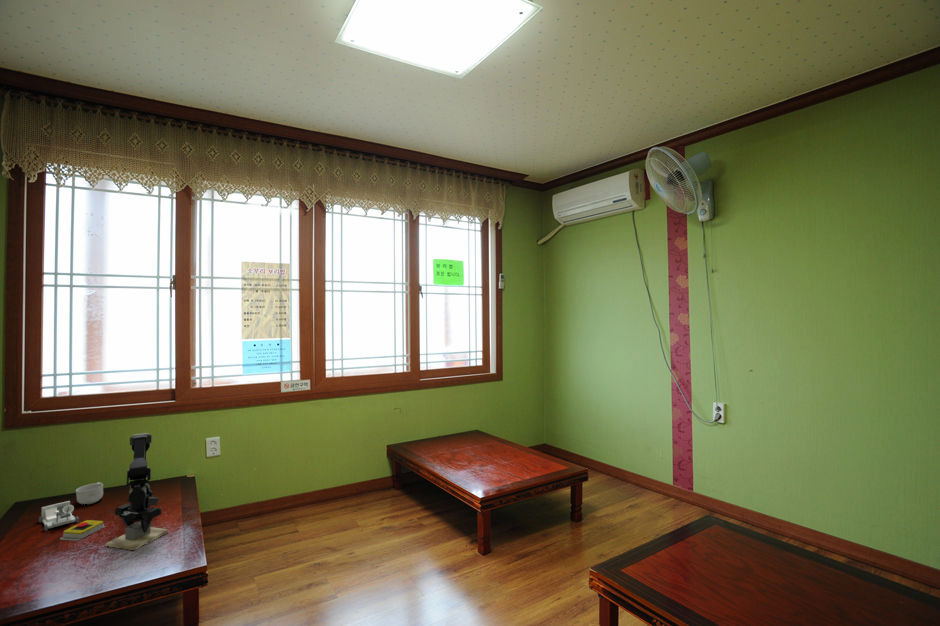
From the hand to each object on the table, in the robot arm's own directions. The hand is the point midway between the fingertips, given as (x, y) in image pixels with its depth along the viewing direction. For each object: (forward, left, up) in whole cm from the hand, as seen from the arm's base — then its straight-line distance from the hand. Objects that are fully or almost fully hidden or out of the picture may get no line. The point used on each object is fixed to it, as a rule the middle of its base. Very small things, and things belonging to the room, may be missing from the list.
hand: (138, 531), depth 200 cm
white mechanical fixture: (-3, -48, -4) cm, 49 cm away
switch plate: (0, 0, -4) cm, 4 cm away
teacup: (-26, -59, -4) cm, 65 cm away
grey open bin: (0, 0, -2) cm, 2 cm away
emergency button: (0, -29, -4) cm, 29 cm away
